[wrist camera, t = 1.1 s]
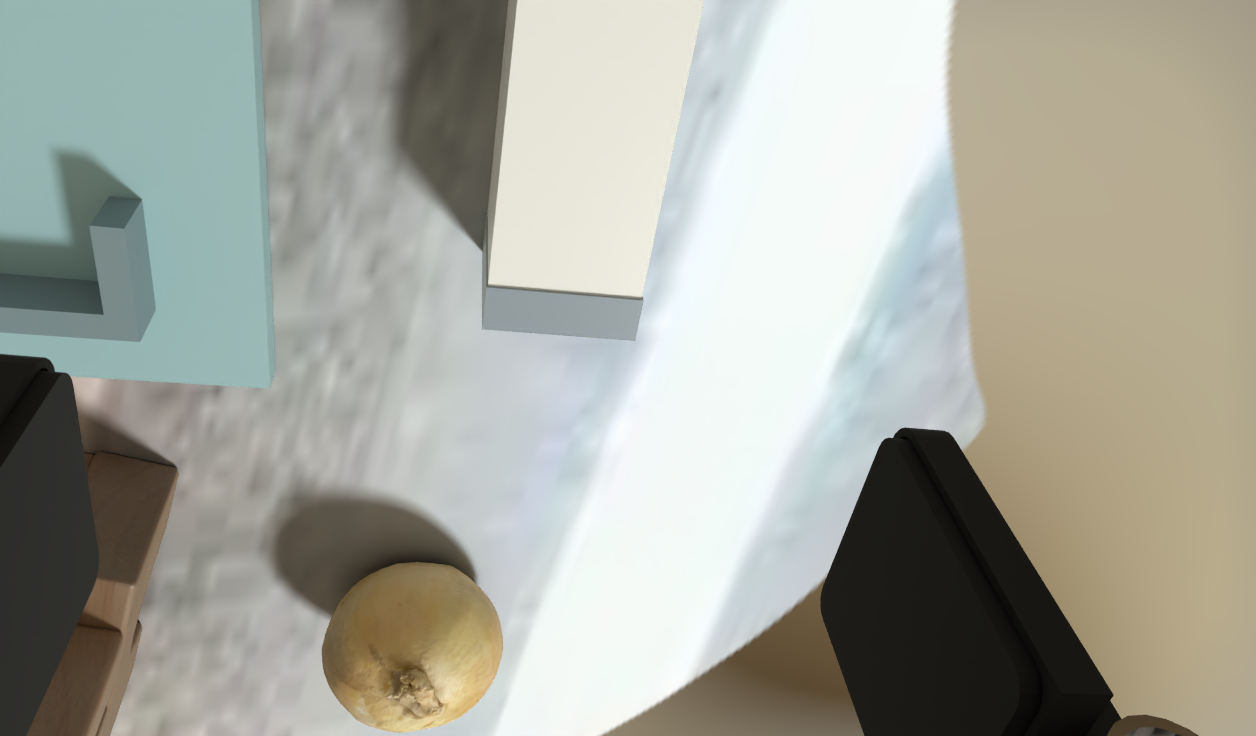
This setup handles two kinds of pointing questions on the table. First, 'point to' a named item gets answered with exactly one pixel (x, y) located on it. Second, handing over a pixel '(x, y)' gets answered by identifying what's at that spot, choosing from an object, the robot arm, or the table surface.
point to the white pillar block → (582, 161)
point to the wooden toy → (109, 596)
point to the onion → (412, 647)
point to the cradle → (135, 190)
